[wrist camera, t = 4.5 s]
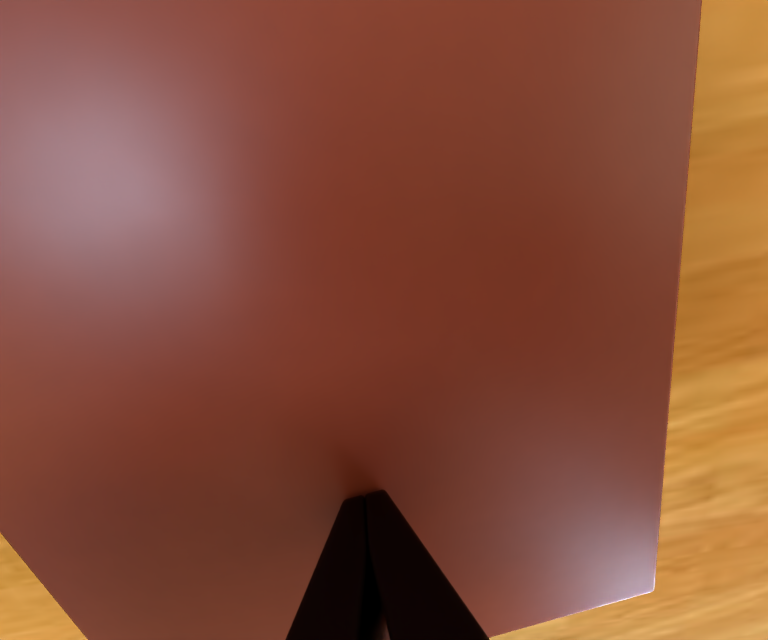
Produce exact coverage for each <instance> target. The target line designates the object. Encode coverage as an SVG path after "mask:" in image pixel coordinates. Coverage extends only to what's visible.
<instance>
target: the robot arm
mask: <svg viewBox="0 0 768 640" xmlns="http://www.w3.org/2000/svg"><path fill="white" fill-rule="evenodd" d="M285 640H489V637H488V636H487V635H486V633H485V632H484V630H483V629H482V627H481V626H480V624H479V623H478V622H477V620H476V619H475V617H474V616H473V614H472V613H471V612H470V610H469V609H468V607H467V606H466V604H465V603H464V602H463V600H462V599H461V597H460V596H459V594H458V593H457V592H456V590H455V589H454V587H453V586H452V584H451V583H450V582H449V580H448V579H447V577H446V576H445V574H444V573H443V572H442V570H441V569H440V567H439V566H438V564H437V563H436V562H435V560H434V559H433V557H432V556H431V554H430V553H429V552H428V550H427V549H426V547H425V546H424V544H423V543H422V541H421V540H420V539H419V537H418V536H417V534H416V533H415V531H414V530H413V529H412V527H411V526H410V524H409V523H408V521H407V520H406V519H405V517H404V516H403V514H402V513H401V511H400V510H399V509H398V507H397V506H396V504H395V503H394V501H393V500H392V499H391V497H390V496H389V494H388V493H387V491H385V490H384V489H381V490H378V491H374V492H370V493H367V494H366V495H365V497H364V496H363V495H359V496H355V497H351V498H347V499H345V500H344V501H343V502H342V504H341V507H340V509H339V511H338V514H337V516H336V519H335V521H334V524H333V526H332V528H331V531H330V533H329V536H328V538H327V540H326V543H325V545H324V548H323V550H322V552H321V555H320V557H319V560H318V562H317V564H316V567H315V569H314V572H313V574H312V576H311V579H310V581H309V584H308V586H307V589H306V591H305V593H304V596H303V598H302V601H301V603H300V605H299V608H298V610H297V613H296V615H295V617H294V620H293V622H292V625H291V627H290V629H289V632H288V634H287V637H286V639H285Z"/></svg>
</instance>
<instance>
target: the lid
mask: <svg viewBox="0 0 768 640" xmlns="http://www.w3.org/2000/svg"><path fill="white" fill-rule="evenodd" d="M701 6H702V0H0V533H1V534H2V535H3V536H4V538H5V539H6V540H7V541H8V542H9V544H10V545H11V546H12V547H13V549H14V550H15V551H16V552H17V553H18V555H19V556H20V557H21V558H22V560H23V561H24V562H25V563H26V564H27V566H28V567H29V568H30V569H31V571H32V572H33V573H34V574H35V575H36V577H37V578H38V579H39V580H40V582H41V583H42V584H43V585H44V587H45V588H46V589H47V590H48V591H49V593H50V594H51V595H52V596H53V598H54V599H55V600H56V601H57V602H58V604H59V605H60V606H61V607H62V609H63V610H64V611H65V612H66V613H67V615H68V616H69V617H70V618H71V620H72V621H73V622H74V623H75V624H76V626H77V627H78V628H79V629H80V631H81V632H82V633H83V634H84V635H85V637H86V638H87V639H88V640H285V639H286V637H287V634H288V632H289V629H290V627H291V625H292V622H293V620H294V617H295V615H296V613H297V610H298V608H299V605H300V603H301V601H302V598H303V596H304V593H305V591H306V589H307V586H308V584H309V581H310V579H311V576H312V574H313V572H314V569H315V567H316V564H317V562H318V560H319V557H320V555H321V552H322V550H323V548H324V545H325V543H326V540H327V538H328V536H329V533H330V531H331V528H332V526H333V524H334V521H335V519H336V516H337V514H338V511H339V509H340V507H341V504H342V502H343V501H344V500H345V499H347V498H351V497H355V496H359V495H363V496H364V497H365V495H366V494H367V493H370V492H374V491H378V490H381V489H384V490H385V491H387V493H388V494H389V496H390V497H391V499H392V500H393V501H394V503H395V504H396V506H397V507H398V509H399V510H400V511H401V513H402V514H403V516H404V517H405V519H406V520H407V521H408V523H409V524H410V526H411V527H412V529H413V530H414V531H415V533H416V534H417V536H418V537H419V539H420V540H421V541H422V543H423V544H424V546H425V547H426V549H427V550H428V552H429V553H430V554H431V556H432V557H433V559H434V560H435V562H436V563H437V564H438V566H439V567H440V569H441V570H442V572H443V573H444V574H445V576H446V577H447V579H448V580H449V582H450V583H451V584H452V586H453V587H454V589H455V590H456V592H457V593H458V594H459V596H460V597H461V599H462V600H463V602H464V603H465V604H466V606H467V607H468V609H469V610H470V612H471V613H472V614H473V616H474V617H475V619H476V620H477V622H478V623H479V624H480V626H481V627H482V629H483V630H484V632H485V633H486V635H487V636H488V637H489V638H490V637H493V636H497V635H500V634H504V633H507V632H511V631H514V630H518V629H521V628H525V627H528V626H532V625H536V624H539V623H543V622H546V621H550V620H553V619H557V618H560V617H564V616H567V615H571V614H574V613H578V612H582V611H585V610H589V609H592V608H596V607H599V606H603V605H606V604H610V603H613V602H617V601H620V600H624V599H628V598H631V597H635V596H638V595H642V594H645V593H649V592H652V591H653V590H654V586H655V573H656V561H657V549H658V536H659V524H660V512H661V499H662V487H663V475H664V462H665V450H666V438H667V425H668V413H669V401H670V388H671V376H672V364H673V351H674V339H675V327H676V314H677V302H678V290H679V277H680V265H681V253H682V240H683V228H684V216H685V203H686V191H687V179H688V166H689V154H690V142H691V129H692V117H693V105H694V92H695V80H696V68H697V55H698V43H699V31H700V18H701Z"/></svg>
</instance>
